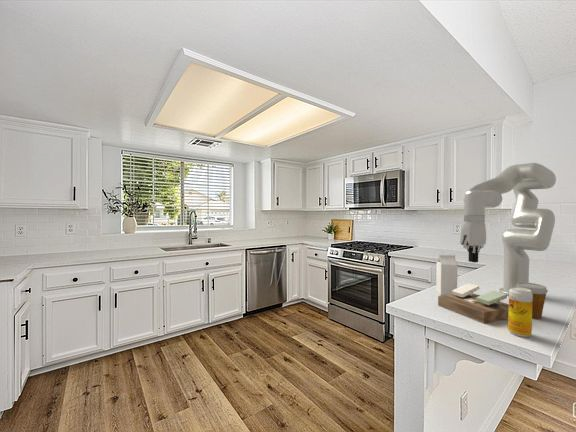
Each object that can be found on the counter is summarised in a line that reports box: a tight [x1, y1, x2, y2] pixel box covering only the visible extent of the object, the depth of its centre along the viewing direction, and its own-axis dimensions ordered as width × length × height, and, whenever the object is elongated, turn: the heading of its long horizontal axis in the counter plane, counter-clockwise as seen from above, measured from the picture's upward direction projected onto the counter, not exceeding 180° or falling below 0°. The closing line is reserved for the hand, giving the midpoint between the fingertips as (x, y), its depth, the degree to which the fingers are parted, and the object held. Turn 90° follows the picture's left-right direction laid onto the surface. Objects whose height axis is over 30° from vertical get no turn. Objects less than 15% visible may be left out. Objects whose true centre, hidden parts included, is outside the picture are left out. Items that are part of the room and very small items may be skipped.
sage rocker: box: [476, 290, 508, 305], centre depth 112 cm, size 10×5×2 cm, turn 109°
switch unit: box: [437, 292, 509, 324], centre depth 116 cm, size 18×20×5 cm
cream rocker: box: [452, 282, 480, 297], centre depth 122 cm, size 10×5×2 cm, turn 109°
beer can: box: [507, 287, 533, 338], centre depth 95 cm, size 6×6×15 cm
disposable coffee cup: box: [516, 282, 549, 320], centre depth 110 cm, size 10×10×12 cm
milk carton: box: [435, 254, 459, 296], centre depth 138 cm, size 7×7×19 cm
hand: (473, 261), depth 123 cm, fingers closed
